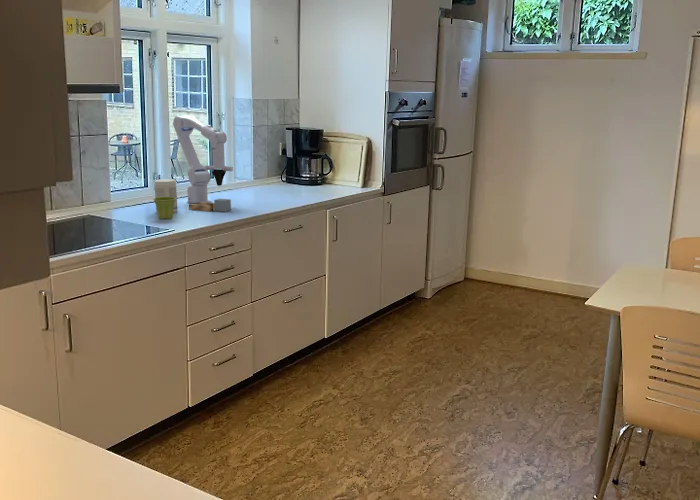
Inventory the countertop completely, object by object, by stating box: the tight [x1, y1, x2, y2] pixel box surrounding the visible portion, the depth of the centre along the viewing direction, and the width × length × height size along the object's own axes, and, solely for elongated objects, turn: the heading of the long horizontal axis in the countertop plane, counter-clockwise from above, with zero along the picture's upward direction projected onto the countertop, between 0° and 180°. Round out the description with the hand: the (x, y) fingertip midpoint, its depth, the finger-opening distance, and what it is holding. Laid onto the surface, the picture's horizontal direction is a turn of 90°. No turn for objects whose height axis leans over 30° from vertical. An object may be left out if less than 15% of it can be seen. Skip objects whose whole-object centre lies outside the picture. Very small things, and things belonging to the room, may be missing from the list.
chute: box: [188, 202, 215, 212], centre depth 326 cm, size 13×8×4 cm, turn 68°
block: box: [213, 198, 232, 212], centre depth 322 cm, size 6×4×5 cm
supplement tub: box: [154, 178, 178, 214], centre depth 316 cm, size 10×10×15 cm
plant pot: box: [153, 197, 176, 220], centre depth 302 cm, size 9×9×9 cm
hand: (219, 185), depth 335 cm, fingers closed
